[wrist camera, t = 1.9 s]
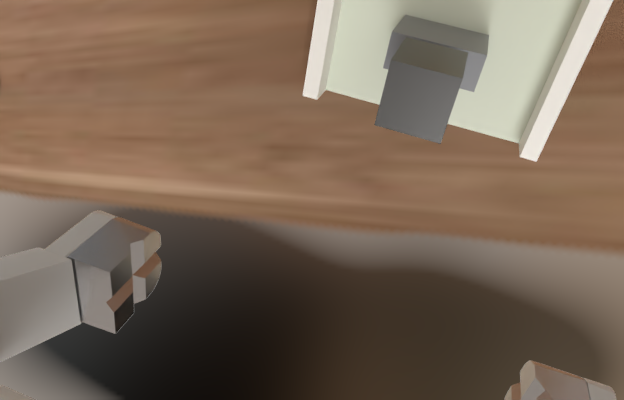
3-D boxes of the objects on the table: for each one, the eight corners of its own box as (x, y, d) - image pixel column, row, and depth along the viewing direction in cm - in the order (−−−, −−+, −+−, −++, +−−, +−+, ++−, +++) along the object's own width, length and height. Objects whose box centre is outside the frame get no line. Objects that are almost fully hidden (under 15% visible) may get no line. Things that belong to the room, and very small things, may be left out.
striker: (492, 26, 29) (487, 85, 20) (474, 76, 30) (463, 150, 22) (407, 6, 30) (367, 53, 21) (394, 55, 31) (353, 118, 23)
